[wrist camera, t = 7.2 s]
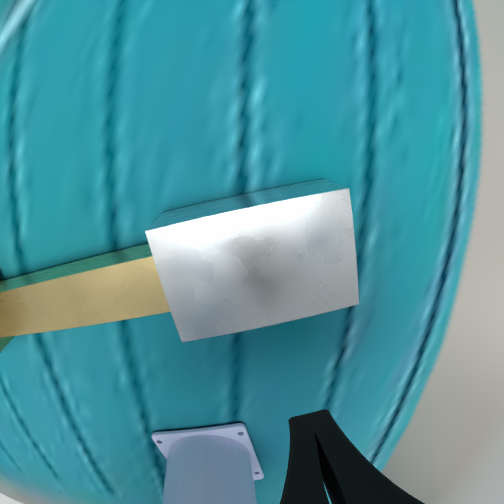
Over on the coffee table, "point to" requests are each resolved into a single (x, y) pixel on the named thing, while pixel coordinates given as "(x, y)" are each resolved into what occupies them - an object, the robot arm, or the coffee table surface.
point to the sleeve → (256, 258)
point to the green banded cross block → (82, 294)
